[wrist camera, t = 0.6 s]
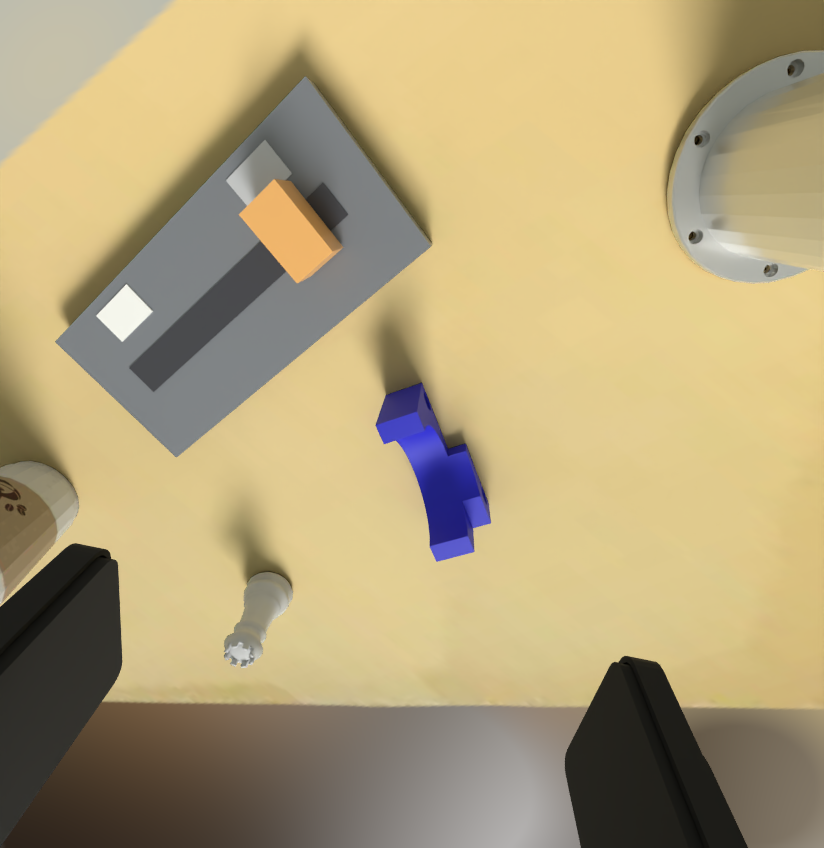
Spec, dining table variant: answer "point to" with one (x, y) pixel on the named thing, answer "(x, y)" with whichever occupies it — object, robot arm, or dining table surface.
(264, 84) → the dining table surface
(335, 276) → the switch panel
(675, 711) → the robot arm
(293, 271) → the switch knob
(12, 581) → the coffee cup
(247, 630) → the rook chess piece
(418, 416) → the blue curved stepped piece
